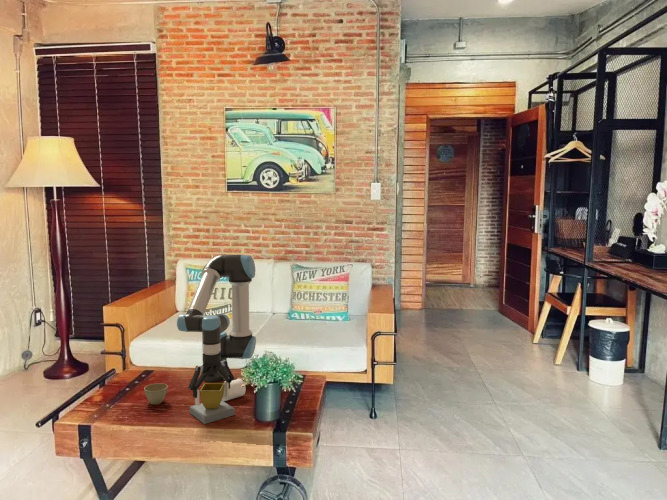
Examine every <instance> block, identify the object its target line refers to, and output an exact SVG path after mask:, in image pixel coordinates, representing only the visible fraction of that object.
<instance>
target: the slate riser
mask: <svg viewBox="0 0 667 500" xmlns="http://www.w3.org/2000/svg"><path fill="white" fill-rule="evenodd" d="M235 410H236V409H235V408H234V407H233V406H231V405H230V404H228V403H226V401H223V400H222V401H221V403H220V405H219V407H218V408H217V409H206V408H205V407H204V406H203V404H202V402H201V403H200V405H199V406H197V405H196V404H194V405H191V406H189V414H191V415H192V416H193V417H195V418H196V419H197V420H199V422H201V423H202V424H204V425H207V424H210V423H212V422H216V421H219V420H222V419H225V418H228V417H231V416H232V417H233V416H235V415H236V414H235V413H236V412H235Z"/></svg>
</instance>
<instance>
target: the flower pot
mask: <svg viewBox="0 0 667 500" xmlns="http://www.w3.org/2000/svg"><path fill="white" fill-rule="evenodd" d="M223 394H224V382H205V383H203V386H201V388H200V389H199V397H200V401H201V403H202V404H203V406H204V407H205V408H206V409H217V408H218V407H219V405H220V403H221V401H223V400H222V398H223Z"/></svg>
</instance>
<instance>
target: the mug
mask: <svg viewBox="0 0 667 500" xmlns="http://www.w3.org/2000/svg"><path fill="white" fill-rule="evenodd" d="M242 384H245V381H243V379H241V378H237V379H234V380H231V383H230V389H229V397H225V396H224V394H223V398H222V401H224V402H227V401H229V400H235V399H237V398H240V397H243V396H245V394H246V385H245V386H244V387H241V385H242Z"/></svg>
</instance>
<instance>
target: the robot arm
mask: <svg viewBox="0 0 667 500" xmlns="http://www.w3.org/2000/svg"><path fill="white" fill-rule="evenodd" d="M200 273H201V274H200V276H201V278H200V280H199V282H198V284H197V287H196V290H195V292H194V294H193V297H192V299H191V301H190V303H189V307H188V309H187V311H186V313H184V314H179V316H178V317H177V320H176V328H177V329H178V331H180V332H186V333H201V334H202V338H201V339H202V342H201V343H202V347H201V348H202V365H200V366H199V365H195V369H194V370H195V371H194V373H193V374H192V375H193V376H192V377H191V380H190V381H189V385H188V388H187V389H188V390H190V391H192V397H193V398H194V405H197V406H199V405H200V404H201V403H200V389H199V388H200V387H201V386H202V383H203V382H204V381H205V382H209V383H216V382H221V381H223V383H224V396H225V397H229V389H230V383H231V381H233V380H235V376H234V375H233V373H232V370H231V369H230V367H229V365H228V360H227V359H236V360H237V359H239V360H250V359H251V358H252V357H253V356H254V354H255V350H256V343H257V338H256V336H255V335H253V331H252V330H251V329H250V284H251V282H252V281H253V279H254V278H255V276H256V264H255V261H254V258H253V257H252V256H251V255H249V254H224V253H223V254H219V255H216V256H214V257H213V258H211V259H210V260H209V261H208V262H207V263H206V264H205V265H204V267H203V268H202V271H201V272H200ZM221 278H228V283H230V284H231V313H232V314H231V316H232V318H231V321H232V323H231V321H230V317H229V316H228V315H226V314H225V313H220V314H216V315H212V314H211V315H208V314H207V315H206V314H205V312H206V309H207V308H208V305H209V303H210V300H211V297H212V294H213V293H214V289H215V286H217V285H216V284H217V283H218V282H219V281H220V279H221ZM230 323H231V324H232V325H231V326H232V330H230V332H229V335H228V334H227V332H226V330H227V329H228V328H229V326H230Z"/></svg>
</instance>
